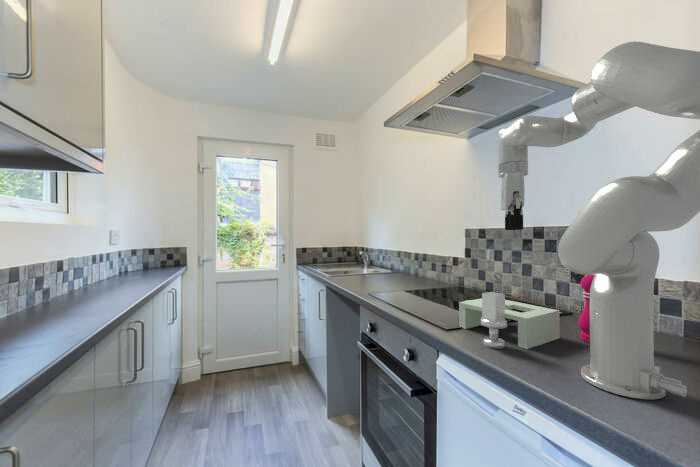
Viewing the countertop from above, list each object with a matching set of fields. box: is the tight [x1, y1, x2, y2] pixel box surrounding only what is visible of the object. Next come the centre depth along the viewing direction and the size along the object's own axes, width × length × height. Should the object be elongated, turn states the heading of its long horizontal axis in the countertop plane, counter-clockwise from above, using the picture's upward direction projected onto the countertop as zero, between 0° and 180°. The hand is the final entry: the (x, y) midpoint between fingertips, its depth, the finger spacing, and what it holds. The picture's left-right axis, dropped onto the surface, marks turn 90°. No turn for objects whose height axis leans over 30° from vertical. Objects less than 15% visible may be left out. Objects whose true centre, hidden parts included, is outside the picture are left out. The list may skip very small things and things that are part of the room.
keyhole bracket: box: [458, 297, 561, 350], centre depth 93 cm, size 22×16×8 cm
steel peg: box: [480, 291, 508, 350], centre depth 82 cm, size 6×6×14 cm
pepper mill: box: [578, 275, 595, 344], centre depth 85 cm, size 7×7×20 cm
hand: (513, 229), depth 88 cm, fingers open, 9 cm apart
